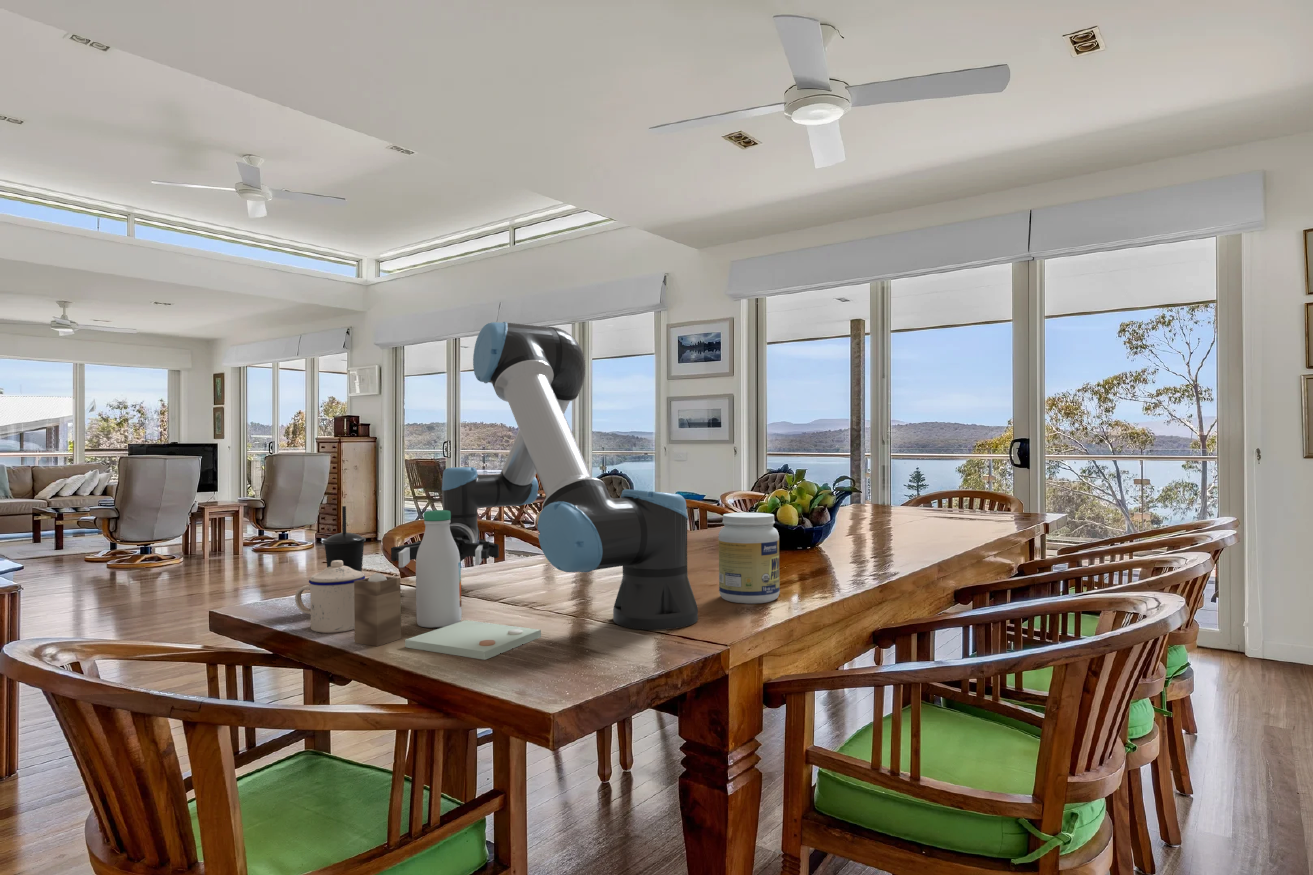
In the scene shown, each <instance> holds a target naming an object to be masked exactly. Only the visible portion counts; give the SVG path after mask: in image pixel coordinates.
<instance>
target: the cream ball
mask: <svg viewBox="0 0 1313 875" xmlns="http://www.w3.org/2000/svg"><path fill="white" fill-rule="evenodd" d="M385 576H386V575H384V574H383V573H380V572H379V573H378V572H376V573H373V574H372V575H370V576H369V577H368V578H369V579H368V581H371V582H379V581H384V580H387V579H386V577H387V576H386V577H385Z"/></svg>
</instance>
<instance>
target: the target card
mask: <svg viewBox="0 0 1313 875" xmlns="http://www.w3.org/2000/svg"><path fill="white" fill-rule="evenodd" d="M540 638H542V629H537V628H531V627H530V628H529V627H523V626H515V625H507V624H500V623H491V622H485V621H484V622H482V621H477V620H468V619H464V620H461V621H460V622H458V623H455V624H452V625H449V626H445V627H438V628H437V629H433V630H431V631H428V632H424V633H422V634H418V635H415V636H413V637H410V638H406V639H405V640H404V647H405V648H409V649H414V650H419V651H427V652H432V653H433V652H434V653H437V654H446V655H451V656H457V657H464V658H470V659H478V660H485V661H486V660H488V659H490V658H494V657H496V656H499V655H501V654H502V653H503V654H504V653H505V652H508V651H510V650H512V648H513V649H515V648H518V647H521V646H522V644H523V645H525V644H527V643H530V642H533V641H535V640H537V639H540ZM500 653H501V654H500Z"/></svg>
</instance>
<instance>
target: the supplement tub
mask: <svg viewBox="0 0 1313 875" xmlns="http://www.w3.org/2000/svg"><path fill="white" fill-rule="evenodd" d="M775 523H776V521H775V514H773V513H766V512H730V513H729V512H728V513H724V514H723V515H722V522H721V524H723V525H724V527H722V528H720V530H719V532H718V592H719V595H720V597H721V599H723V600H725V601H727V602H730V603H736V604H765V603H770V602H773V601H775V600H776V599H778V597H779V595H780V535H779V532H778V531H779V530H778V529H777V528H775V527H774V524H775Z"/></svg>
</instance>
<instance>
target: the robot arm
mask: <svg viewBox="0 0 1313 875" xmlns="http://www.w3.org/2000/svg"><path fill="white" fill-rule="evenodd" d="M476 337H477V338H476V340H475V342H474V343H475V344H474V349H473V356H472V357H473V358H472V364H473V366H472V367H473V372H474V376H475V378H476V380H477V381H479V382H481V383H484V384H488V383H490V384H491V385H492V387H493V389H494V392H495V394H496V396H497V397H498V398H499V399H500V400H502V401H504V402H507V403H508V406H510V407H509V408H510V411H511V412H512V415H513V417H514V420H515V422H516V424H517V427H518V431H517V434H516V436H515V437H514V438H515V439H514V441H513V443H512V445H511V448H510V450H509V453H508V455H507V457H506V460H505V462H504V464H503V467H502V469H501V471H500V473H498V474H497V473H494V474H478V470H477V468H476V467H473V466H459V467H454V466H452V467H447V468H445V469H444V470H443V472H442V481H441V482H442V483H441V484H442V485H441V494H442V495H441V496H442V510H448V511H450V512H451V519H450V521H451V523H450V524H449V525H450V531H451V534H452V537H453V539H454V541H455V543H456V545H457V547H458V550H459V555H460V562H462V561H463V560H465V559H466V558H470V557H473V558H474V562H475V563H474V565H475V566H480V564H482V562H483V560H484V559H485V560H488V559H489V558H490V557H491V558H494V559H498V558H500V549H499V548H500V545H499V544H498V543H494V542H491V541H486V539H483V538H482V539H481V538H480V530H479V527H478V510H479V509H481V508H482V509H484V508H498V507H499V508H500V507H501V508H502V507H518V506H519V507H520V506H524V505H529V504H533V503H534V502H535V501H536V500H537V498H538V495H539V493H538V491H539V482H540V484H541V487H542V490H543V491H544V495H545V496H546V497H545V499H544V501H543V502H542V506H541V511H540V514H539V516H538V518H537V519H538V520H537V531H538V532H539V534H538V543H539V545H540V548H541V551H542V552H543V556H545V558H546V559H547V561H548V562H549V563H550V565H552V567H554V568H556V570H559V571H561V572H565V573H590V572H592V571H597V570H603V569H604V570H605V569H612V568H618V567H622V578H621V582H620V585H619V587H618V588H619V589H618V592H617V595H616V598H615V601H614V604H613V611H612V612H613V613H612V615H613V616H612V618H613V619H612V620H613V623H615V624H616V625H618V626H620V627H624V628H629V629H634V630H647V631H650V630H652V631H653V630H654V631H656V630H657V631H659V630H672V629H679V628H684V627H689V626H691V625H694V624H696V623H697V622H698V620H699V615H698V614H699V611H698V610H699V609H698V604H697V601H696V599H695V595H694V592H693V589H692V586H691V585H692V584H691V583H690V580H689V575H688V521H689V516H688V512H687V510H688V509H687V501H686V499H685V497H684V496H683V495H681V494H679V493H672V492H663V491H662V492H661V491H651V490H639V489H626V488H625V489H623V490H622V491H621V495H620V497H617V498H613V497H612V496H611V494H610V493H609V490H608V488H607V486H606V484H605V482H604V481H603V480H601V479H599V478H596V477H593V476H592V474H591V472H590V469H589V467H588V465H587V463H586V460H585V458H584V457H583V453H582V452H581V450H580V449H581V448H580V447H579V444H578V443H577V441H576V438H575V436H574V434H573V432H572V430H571V427H570V425H569V422H568V421H567V418H566V416H565V413H566V411H567V409H568V406H569V404H570V402H573V401H575V400H576V399H577V398H578V396H579V394H580V392H581V390H582V388H583V385H584V382H585V378H586V360H585V356H584V353H583V350H582V348H581V345H580V344H579V342H578V340H576V339H575V338H574V337H573V335H572V334H570V333H569V332H567V331H566V330H564V329H561V328H558V327H556V326H555V327H554V326H542V325H541V326H539V325H533V324H521V323H515V322H513V323H512V322H507V321H503V322H493V321H492V322H488V323H486V324H485V325H484V326H483V327H482V328H481V329H480V330H479V333H478V335H477V336H476ZM536 476H538V478H536ZM538 479H539V480H538ZM421 542H422V540H417V541H414V542H413V543H406V544H403V545H397V546H393V547H390V561H391V562H398V568H399V569H400V568H405V566H407V565H408V564H409V563H410V562H411V561H412V560H416V557H417V552H418V549H419V546H420V544H421Z"/></svg>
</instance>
